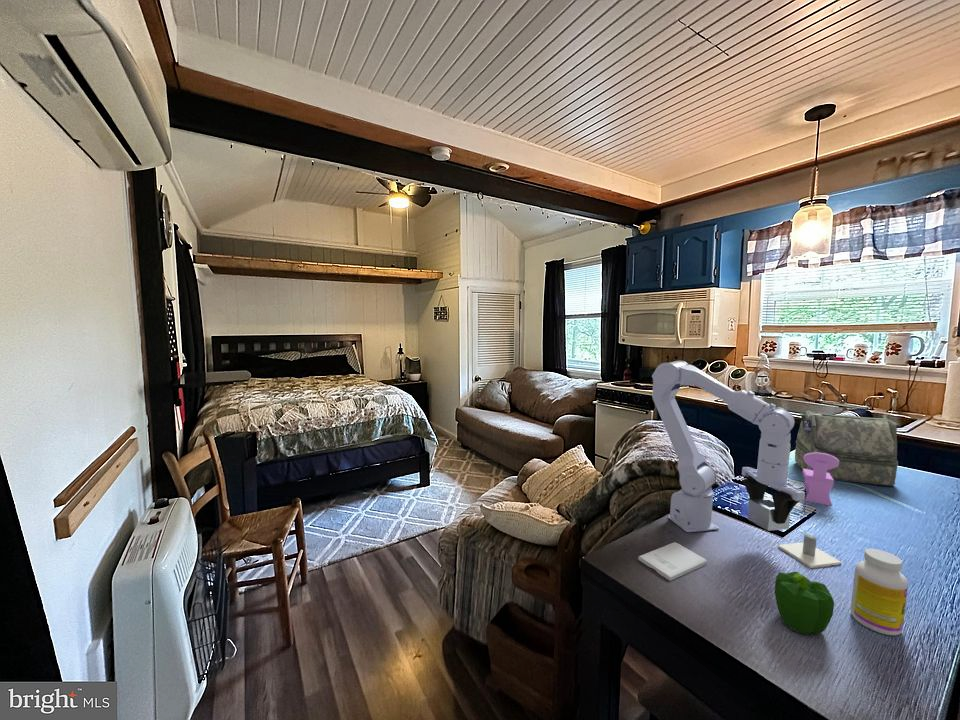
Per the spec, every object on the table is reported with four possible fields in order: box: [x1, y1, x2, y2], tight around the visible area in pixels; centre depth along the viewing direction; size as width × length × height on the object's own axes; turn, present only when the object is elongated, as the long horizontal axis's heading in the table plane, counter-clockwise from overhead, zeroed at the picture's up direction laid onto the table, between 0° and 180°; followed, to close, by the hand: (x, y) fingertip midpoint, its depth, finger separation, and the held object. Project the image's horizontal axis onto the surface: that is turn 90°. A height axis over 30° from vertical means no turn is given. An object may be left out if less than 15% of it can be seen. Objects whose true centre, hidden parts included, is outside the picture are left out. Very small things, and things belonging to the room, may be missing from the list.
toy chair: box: [802, 452, 839, 506], centre depth 120 cm, size 8×9×15 cm
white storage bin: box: [747, 497, 791, 532], centre depth 92 cm, size 6×6×5 cm
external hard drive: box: [637, 541, 708, 582], centre depth 88 cm, size 2×8×12 cm
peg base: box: [777, 533, 842, 569], centre depth 90 cm, size 8×8×5 cm
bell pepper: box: [774, 571, 835, 635], centre depth 70 cm, size 8×8×10 cm
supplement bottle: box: [850, 548, 909, 636], centre depth 70 cm, size 7×7×13 cm
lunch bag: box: [794, 410, 899, 486], centre depth 137 cm, size 26×18×22 cm
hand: (767, 516), depth 92 cm, fingers closed on white storage bin, 6 cm apart
